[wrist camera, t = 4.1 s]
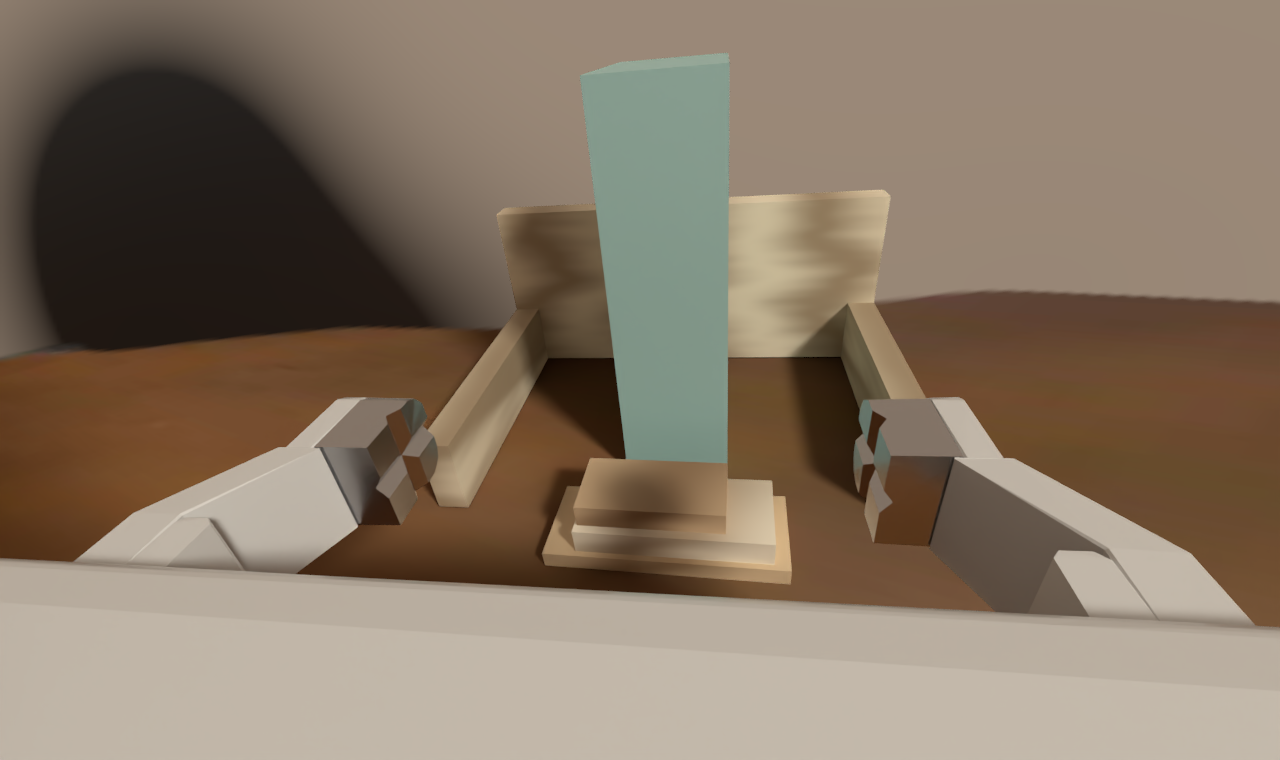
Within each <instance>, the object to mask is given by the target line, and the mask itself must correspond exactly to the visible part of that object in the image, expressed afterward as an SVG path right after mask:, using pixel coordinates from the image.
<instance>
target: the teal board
mask: <svg viewBox="0 0 1280 760" xmlns="http://www.w3.org/2000/svg"><path fill="white" fill-rule="evenodd" d="M580 80H581V88H582V95H583V96H582V97H583V105H584V113H585V122H586V129H587V138H588V146H589V155H590V163H591V171H592V180H593V187H594V196H595V204H596V213H597V221H598V229H599V238H600V246H601V254H602V263H603V271H604V279H605V287H606V296H607V304H608V312H609V321H610V329H611V337H612V345H613V354H614V362H615V370H616V379H617V387H618V395H619V403H620V412H621V420H622V428H623V437H624V445H625V453H626V459H630V460H656V461H682V462H707V463H727V414H728V233H729V57H728V53H720V54H709V55H698V56H686V57H674V58H664V59H651V60H640V61H629V62H620V63H617V64H613V65H610V66H607V67H604V68H601V69H598V70H595V71H592V72H589V73H586V74H583V75H580Z"/></svg>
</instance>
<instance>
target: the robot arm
mask: <svg viewBox="0 0 1280 760" xmlns="http://www.w3.org/2000/svg"><path fill="white" fill-rule="evenodd" d="M426 419H427V415H426V413H425V410H424V408H423V405H422V403H421V402H419V401H417V400H416V399H404V398H342V399H337V400H336V401H335V402H334V403H333V404H332V405H331V406H330V407H329V408H328V409H326V410H325V411H324V412H323V413H322V414H321V415H320V416H319V417H318V418H317V419H316V420H315V421H314V422H313V423H312V424H310V425H309V426H308V427H307V428H306V429H305V430H304V431H303V432H302V433H301V434H300V435H299V436H298V437H297V438H295V439H294V440H293V441H292V442H291V443H290V444H289V445H288V446H287V447H278V448H276V449H274V450H272V451H269V452H267V453H265V454H263V455H261V456H258V457H256V458H254V459H252V460H249V461H247V462H245V463H243V464H241V465H238V466H236V467H234V468H232V469H230V470H227V471H225V472H223V473H221V474H219V475H216V476H214V477H212V478H210V479H208V480H205V481H203V482H201V483H199V484H196V485H194V486H192V487H190V488H188V489H185V490H183V491H181V492H179V493H177V494H174V495H172V496H170V497H168V498H166V499H163V500H161V501H159V502H157V503H155V504H152V505H150V506H148V507H146V508H144V509H141V510H139V511H137V512H135V513H133V514H132V515H130V516H129V517H128V518H127V519H125V520H124V521H123V522H122V523H120V524H119V525H118V526H117V527H116V528H114V529H113V530H112V531H111V532H109V533H108V534H107V535H106V536H104V537H103V538H102V539H101V540H100V541H98V542H97V543H96V544H95V545H93V546H92V547H91V548H90V549H88V550H87V551H86V552H85V553H84V554H82V555H81V556H80V557H79V558H77V559H76V560H75V561H74V562H65V561H46V560H28V559H9V558H0V760H1280V627H1267V626H1255V624H1254V623H1253V622H1252V621H1251V620H1250V619H1249V618H1248V617H1247V616H1246V614H1245V613H1244V612H1243V611H1242V610H1241V609H1240V608H1239V607H1238V606H1237V604H1236V603H1235V602H1234V601H1233V600H1232V599H1231V598H1230V597H1229V596H1228V594H1227V593H1226V592H1225V591H1224V590H1223V589H1222V588H1221V587H1220V586H1219V584H1218V583H1217V582H1216V581H1215V580H1214V579H1213V578H1212V577H1211V576H1210V574H1209V573H1208V572H1207V571H1206V570H1205V569H1204V568H1203V567H1202V566H1201V564H1200V563H1199V562H1198V561H1197V560H1196V559H1195V558H1194V557H1193V556H1192V554H1191V553H1189V552H1187V551H1185V550H1183V549H1181V548H1179V547H1178V546H1176V545H1174V544H1172V543H1170V542H1168V541H1166V540H1165V539H1163V538H1161V537H1159V536H1157V535H1155V534H1153V533H1152V532H1150V531H1148V530H1146V529H1144V528H1142V527H1140V526H1139V525H1137V524H1135V523H1133V522H1131V521H1129V520H1127V519H1126V518H1124V517H1122V516H1120V515H1118V514H1116V513H1114V512H1113V511H1111V510H1109V509H1107V508H1105V507H1103V506H1101V505H1099V504H1098V503H1096V502H1094V501H1092V500H1090V499H1088V498H1086V497H1085V496H1083V495H1081V494H1079V493H1077V492H1075V491H1073V490H1072V489H1070V488H1068V487H1066V486H1064V485H1062V484H1060V483H1059V482H1057V481H1055V480H1053V479H1051V478H1049V477H1047V476H1046V475H1044V474H1042V473H1040V472H1038V471H1036V470H1034V469H1033V468H1031V467H1029V466H1027V465H1025V464H1023V463H1021V462H1020V461H1018V460H1016V459H1010V458H1003V457H1002V455H1001V454H1000V452H999V451H998V449H997V448H996V446H995V445H994V443H993V442H992V440H991V439H990V437H989V436H988V435H987V433H986V432H985V430H984V429H983V427H982V426H981V424H980V423H979V421H978V420H977V418H976V417H975V415H974V414H973V412H972V411H971V410H970V408H969V407H968V405H967V404H966V402H965V401H964V400H963V399H961V398H959V397H947V398H926V399H876V400H863V403H862V405H861V408H860V414H859V422H860V425H861V428H862V431H863V434H862V435H861V436H860V437H859V438H858V439H857V440H855V448H854V476H855V482H856V486H857V490H858V493H859V494H860V495H861V496H862V497H864V498H865V499H866V505H865V511H864V513H865V517H866V520H867V523H868V526H869V530H870V533H871V536H872V539H873V543H882V544H897V545H913V546H929V547H930V548H929V549H930V550H931V551H932V552H933V553H934V554H935V555H936V556H937V557H938V558H939V559H940V560H942V561H943V562H944V563H945V564H946V565H947V566H948V567H949V568H950V569H951V570H952V571H953V572H954V573H955V574H956V575H957V576H958V577H960V578H961V579H962V580H963V581H964V582H965V583H966V584H967V585H968V586H969V587H970V588H971V589H972V590H973V591H974V592H975V593H976V594H978V595H979V596H980V597H981V598H982V599H983V600H984V601H985V602H986V603H987V604H988V605H989V606H990V607H991V608H992V609H993V610H994V611H995V612H986V611H968V610H949V609H931V608H912V607H894V606H875V605H857V604H838V603H820V602H801V601H783V600H764V599H746V598H727V597H709V596H690V595H672V594H654V593H636V592H618V591H600V590H582V589H563V588H545V587H527V586H509V585H491V584H473V583H453V582H434V581H415V580H396V579H377V578H358V577H339V576H319V575H300V574H296V573H297V572H299V571H300V570H301V569H303V568H304V567H305V566H307V565H308V564H309V563H311V562H312V561H313V560H315V559H316V558H317V557H319V556H320V555H321V554H323V553H324V552H325V551H327V550H328V549H329V548H331V547H332V546H333V545H335V544H336V543H337V542H339V541H340V540H341V539H343V538H344V537H345V536H347V535H348V534H349V533H351V532H352V531H353V530H355V529H356V528H357V527H358V525H401V524H402V522H403V521H404V519H405V518H406V516H407V515H408V513H409V512H410V510H411V509H412V507H413V506H414V504H415V503H416V501H417V495H416V490H418V489H419V488H421V487H422V486H424V485H426V484H427V483H429V481H430V479H431V478H432V476H433V475H434V473H435V470H436V466H437V461H438V449H437V444H436V441H435V438H434V436H433V435H432V434H431V433H430V432H429V431H428V430H427V429H426V428H424V427H423V426H424V423H425V421H426Z"/></svg>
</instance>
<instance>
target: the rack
mask: <svg viewBox="0 0 1280 760" xmlns="http://www.w3.org/2000/svg"><path fill="white" fill-rule="evenodd" d="M889 203H890V195H889V194H887V192H886V191H885V190H870V191H848V192H828V193H807V194H786V195H765V196H746V197H729V233H728V357H841V359H842V362H843V365H844V367H845V370H846V373H847V376H848V379H849V381H850V384H851V387H852V390H853V393H854V396H855V398H856V401H857V404H858V407H859V410H860V408H861V405H862V403H863V400H876V399H926V397H925V395H924V394H923V392H922V390H921V388H920V386H919V384H918V383H917V381H916V379H915V377H914V375H913V373H912V372H911V370H910V368H909V366H908V364H907V362H906V361H905V359H904V357H903V355H902V353H901V351H900V350H899V348H898V346H897V344H896V342H895V341H894V339H893V337H892V335H891V333H890V331H889V330H888V328H887V326H886V324H885V322H884V320H883V319H882V317H881V315H880V313H879V311H878V309H877V308H876V306H875V304H874V298H875V292H876V286H877V279H878V273H879V266H880V260H881V254H882V248H883V241H884V235H885V229H886V222H887V216H888V210H889ZM497 220H498V224H499V229H500V234H501V238H502V243H503V248H504V252H505V256H506V261H507V266H508V271H509V275H510V280H511V284H512V289H513V294H514V298H515V303H516V307H517V310H516V311H515V313H514V314H513V315H512V317H511V318H510V320H509V321H508V322H507V324H506V325H505V326H504V328H503V329H502V330H501V332H500V333H499V334H498V336H497V337H496V338H495V340H494V341H493V342H492V344H491V345H490V347H489V348H488V349H487V351H486V352H485V353H484V355H483V356H482V357H481V359H480V360H479V361H478V363H477V364H476V365H475V367H474V368H473V370H472V371H471V372H470V374H469V375H468V376H467V378H466V379H465V380H464V382H463V383H462V384H461V386H460V387H459V388H458V390H457V391H456V393H455V394H454V395H453V397H452V398H451V399H450V401H449V402H448V403H447V405H446V406H445V407H444V409H443V410H442V412H441V413H440V414H439V416H438V417H437V418H436V420H435V421H434V422H433V424H432V425H431V426H430V428H429V429H428V431H429V432H430V433H431V434H432V435H433V436H434V438H435V441H436V444H437V449H438V461H437V466H436V470H435V473H434V475H433V476H432V478H431V479H430V483H431V486H432V488H433V491H434V494H435V496H436V499H437V502H438V504H439V506H446V507H469V505H470V504H471V502H472V500H473V498H474V496H475V494H476V492H477V491H478V489H479V487H480V485H481V483H482V481H483V479H484V477H485V476H486V474H487V472H488V470H489V468H490V466H491V464H492V462H493V461H494V459H495V457H496V455H497V453H498V451H499V449H500V447H501V446H502V444H503V442H504V440H505V438H506V436H507V434H508V432H509V431H510V429H511V427H512V425H513V423H514V421H515V419H516V418H517V416H518V414H519V412H520V410H521V408H522V406H523V404H524V403H525V401H526V399H527V397H528V395H529V393H530V391H531V389H532V388H533V386H534V384H535V382H536V380H537V378H538V376H539V374H540V373H541V371H542V369H543V367H544V365H545V363H546V361H547V359H548V358H614V354H613V345H612V337H611V329H610V321H609V312H608V304H607V296H606V287H605V279H604V271H603V263H602V254H601V246H600V238H599V229H598V221H597V213H596V204H580V205H579V204H578V205H557V206H537V207H516V208H504V209H503V210H502V211H500V212H499V213H498V214H497Z"/></svg>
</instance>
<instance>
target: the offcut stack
mask: <svg viewBox="0 0 1280 760" xmlns="http://www.w3.org/2000/svg"><path fill="white" fill-rule="evenodd" d="M542 556H543V560H544V563H545V565H548V566H560V567H573V568H586V569H599V570H612V571H625V572H638V573H651V574H663V575H676V576H689V577H702V578H715V579H728V580H741V581H754V582H767V583H779V584H791V575H792V568H791V557H790V546H789V535H788V524H787V512H786V501H785V496H773V490H772V481H764V480H742V479H728V463H707V462H682V461H656V460H630V459H605V458H590V460H589V463H588V466H587V469H586V472H585V475H584V478H583V480H582V483H581V486H580V487H579V486H567V488H566V491H565V494H564V496H563V499H562V502H561V504H560V507H559V510H558V512H557V515H556V517H555V520H554V523H553V525H552V528H551V531H550V533H549V536H548V539H547V541H546V544H545V547H544V549H543V552H542Z"/></svg>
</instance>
